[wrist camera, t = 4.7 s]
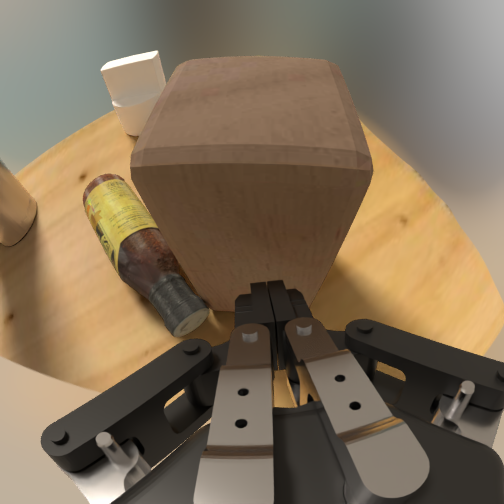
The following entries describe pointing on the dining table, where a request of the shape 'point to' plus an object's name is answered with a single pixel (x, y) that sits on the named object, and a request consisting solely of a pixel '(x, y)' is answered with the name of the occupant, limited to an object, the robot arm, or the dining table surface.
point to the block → (253, 172)
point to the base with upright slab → (134, 88)
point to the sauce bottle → (141, 253)
